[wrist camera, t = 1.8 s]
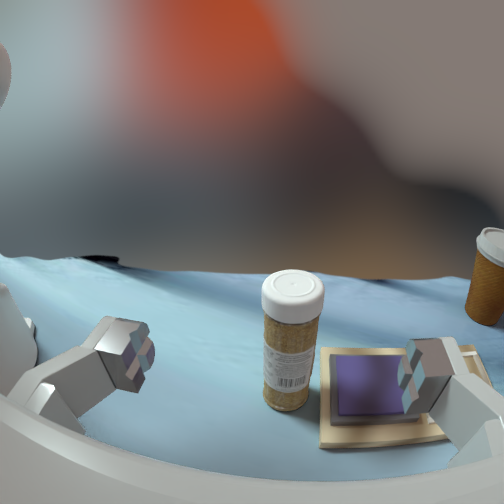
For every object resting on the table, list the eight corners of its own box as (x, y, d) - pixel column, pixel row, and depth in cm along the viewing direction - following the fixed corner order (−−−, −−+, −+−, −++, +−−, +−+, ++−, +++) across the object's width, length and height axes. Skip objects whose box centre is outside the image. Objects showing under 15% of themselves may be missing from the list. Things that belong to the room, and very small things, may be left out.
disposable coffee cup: (490, 342, 31) (524, 264, 25) (444, 306, 39) (468, 232, 33) (514, 317, 34) (541, 248, 29) (473, 288, 42) (493, 222, 36)
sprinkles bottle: (310, 380, 30) (326, 269, 24) (305, 416, 26) (324, 305, 20) (266, 375, 31) (267, 264, 25) (257, 409, 27) (255, 298, 21)
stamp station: (318, 448, 23) (323, 436, 22) (319, 354, 33) (322, 339, 32) (499, 427, 20) (511, 414, 19) (469, 351, 30) (477, 337, 29)
